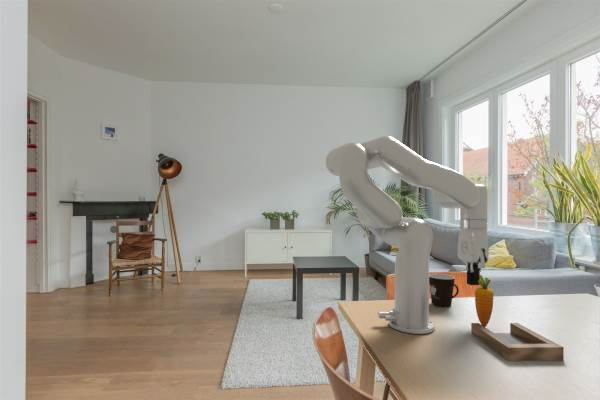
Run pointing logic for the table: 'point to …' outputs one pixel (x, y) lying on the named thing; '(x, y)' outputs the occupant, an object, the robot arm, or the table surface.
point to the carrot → (484, 301)
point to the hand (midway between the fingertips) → (473, 284)
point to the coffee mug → (442, 289)
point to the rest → (519, 343)
